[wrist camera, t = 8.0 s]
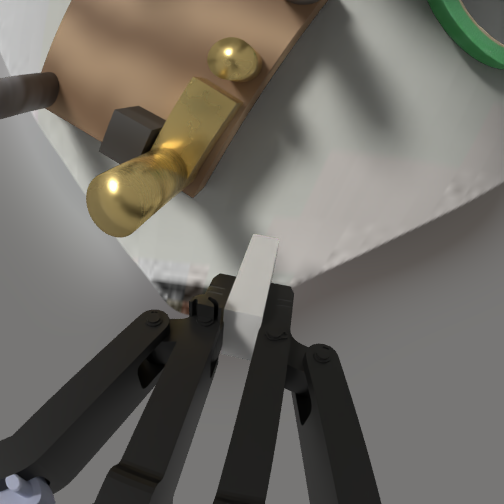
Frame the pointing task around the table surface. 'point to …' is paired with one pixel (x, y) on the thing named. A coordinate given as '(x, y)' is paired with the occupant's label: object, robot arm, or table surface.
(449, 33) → the tape roll
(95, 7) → the wooden peg board
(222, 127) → the leg
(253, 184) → the table surface
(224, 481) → the robot arm
